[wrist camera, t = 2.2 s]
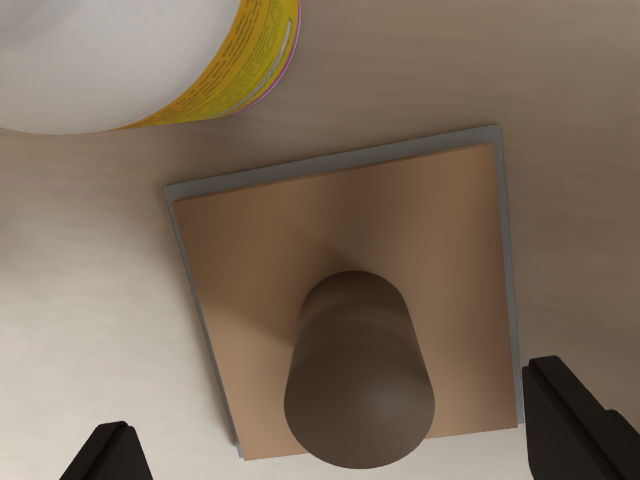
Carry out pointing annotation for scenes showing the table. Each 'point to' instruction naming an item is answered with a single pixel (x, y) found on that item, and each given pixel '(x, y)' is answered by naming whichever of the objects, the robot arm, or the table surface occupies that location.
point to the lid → (357, 306)
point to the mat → (350, 160)
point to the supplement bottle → (138, 61)
